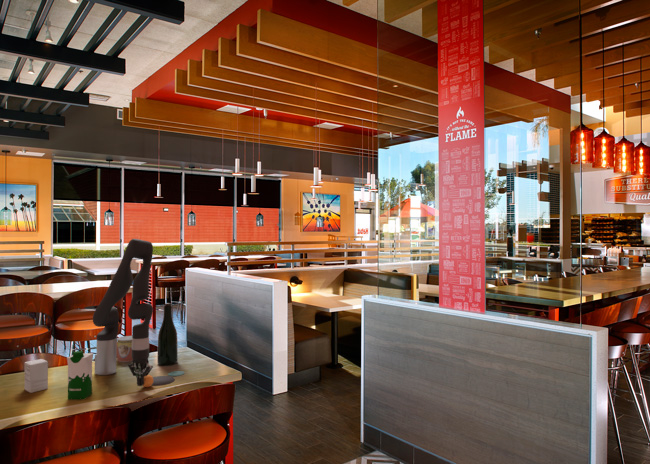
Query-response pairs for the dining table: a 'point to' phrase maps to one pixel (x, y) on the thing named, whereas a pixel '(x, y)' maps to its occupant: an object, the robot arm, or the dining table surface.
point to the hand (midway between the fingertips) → (140, 385)
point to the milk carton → (79, 375)
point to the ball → (148, 381)
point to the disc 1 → (162, 380)
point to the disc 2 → (176, 373)
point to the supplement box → (36, 375)
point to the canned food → (124, 349)
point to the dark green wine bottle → (167, 339)
